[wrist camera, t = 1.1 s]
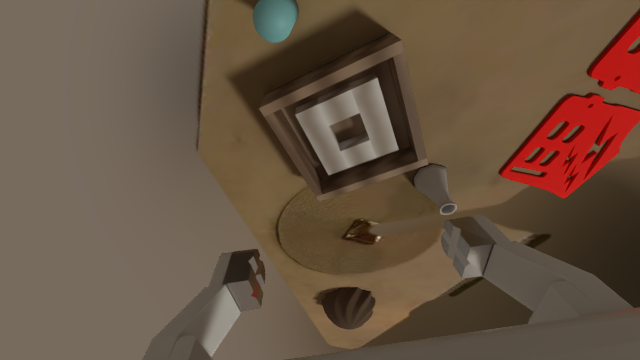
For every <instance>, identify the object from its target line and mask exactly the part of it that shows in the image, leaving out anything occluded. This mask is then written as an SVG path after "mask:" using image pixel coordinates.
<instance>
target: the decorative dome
mask: <svg viewBox="0 0 640 360" xmlns="http://www.w3.org/2000/svg"><path fill="white" fill-rule="evenodd" d="M322 303H323V308H324V311H325V313H326V315H327V316H328V318H329V319H330V320H331V321H332V322H333V323H334V324H335V325H337V326H338V327H340V328H344V329H355V328H358V327H361V326H362V325H363V324H364V323H365V322H366V321H368V320H369V318H370V317H371V316H372V313H373V311H372V309H373V307H374V305H375V298H373V297H372V296H371V292H370V291H364V290H362V289H360V288H358V287H356V288H350V289H346V288H339V289H338V290H336V291H335V292H331V293H327V294H326V298H325V299H324V300H323V301H322Z"/></svg>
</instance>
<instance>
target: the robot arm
mask: <svg viewBox="0 0 640 360" xmlns="http://www.w3.org/2000/svg"><path fill="white" fill-rule="evenodd" d="M443 228H444V229H445V230H446V231H445V232H444V233H443V234H442V237H441V243H442V247H443V250H444V252H445V253H446V255H447V256H448V257H449V258H451V259H453V260H454V262H453V266H454V267H455V269H456V270H457V272H458V273H459V275H460V276H461V278H469V277H477V276H483V277H484V278H485V279H487V280H488V281H490V282H491V283H493V284H494V285H496V286H497V287H499V288H500V289H502V290H503V291H504V292H506V293H507V294H509V295H510V296H512V297H513V298H515V299H516V300H518V301H519V302H521V303H522V304H523V305H525V306H526V307H528V308H529V309H531V310H532V311H534V313H533V314H532V316H531V318H530V319H529V322H528V324H525V325H519V326H512V327H506V328H498V329H492V330H484V331H478V332H472V333H464V334H457V335H450V336H443V337H437V338H430V339H423V340H416V341H409V342H402V343H396V344H388V345H382V346H375V347H368V348H361V349H354V350H348V351H341V352H334V353H327V354H321V355H313V356H307V357H300V358H294V359H286V360H640V308H633V307H632V306H631V305H630V304H628V303H627V302H626V301H625V300H623V299H622V298H621V297H620V296H618V295H617V294H616V293H615V292H614V291H613V290H611V289H610V288H609V287H608V286H606V285H605V284H604V283H603V282H602V281H600V280H599V279H598V278H597V277H596V276H594V275H593V274H590V273H588V272H585V271H583V270H581V269H579V268H576V267H574V266H571V265H569V264H567V263H565V262H562V261H560V260H558V259H555V258H553V257H551V256H548V255H546V254H544V253H541V252H539V251H537V250H534V249H532V248H530V247H528V246H525V245H523V244H521V243H518V242H516V241H513V242H511V241H510V240H509V239H508V238H507V237H506V236H505V235H504V234H503V233H502V232H501V231H500V230H499V229H498V228H497V227H496V226H495V225H494V224H493V223H492V222H491V221H490V220H488V218H487V217H485V216H484V215H482V214H481V215H476V216H469V217H462V218H456V219H450V220H446V221H445V222H444V225H443ZM259 257H260V254H259V251H258V249H251V250H243V251H235V252H229V253H222V254H221V255H220V256H219V260H218V262H217V265H216V267H215V270H214V273H213V276H212V279H211V281H210V284H209V287H205V288H204V289H203V290H202V291H201V292H200V293H199V294H198V295H197V296H196V297H195V298H194V299H193V300H192V301H191V302H190V303H189V304H188V305H187V306H186V307H185V308H184V309H183V310H182V311H181V312H180V313H179V314H178V315H177V316H176V317H175V318H174V319H172V320H171V322H169V323H168V324H167V326H165V328H164V329H162V330H161V331H160V332H159V333H158V334H157V335H156V336H155V337H154V339H152V341H151V343H150V345H149V347H148V349H147V351H146V353H145V355H144V357H143V359H142V360H213V359H212V358H211V356H212V355H213V353H214V352H215V350H216V349H217V348H218V346H219V345H220V343H221V341H222V340H223V339H224V337H225V336H226V334H227V333H228V331H229V330H230V328H231V327H232V325H233V324H234V322H235V321H236V319H237V318H238V316H239V315H240V313H241V312H242V311H247V310H253V309H258V308H261V304H262V298H263V292H262V289H261V287H262V286H263V285H264V284H265V268H264V264H263V262H262V261H261V260H259Z"/></svg>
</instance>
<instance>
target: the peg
mask: <svg viewBox="0 0 640 360" xmlns="http://www.w3.org/2000/svg"><path fill="white" fill-rule="evenodd" d="M298 12H299V11H298V4H297V2H296V0H260V1H259V2H258V3H257V4H256V6H255V8H254V12H253V21H254V25H255V28H256V30H257V32H258V33H259V34H260V36H261V37H263V38H264V39H265V40H267V41H269V42H275V43H276V42H281V41H283V40H284V39H286V38H287V37H288V35H289V34H290V32H291V30H292V28H293V26H294V24H295V21H296V19H297V17H298Z"/></svg>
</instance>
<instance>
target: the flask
mask: <svg viewBox="0 0 640 360" xmlns="http://www.w3.org/2000/svg"><path fill="white" fill-rule="evenodd" d="M413 179H414V185H415V188H417V189H418V190H419V191H421V192H422V193H424V194H425V195H426V196H428V197H429V198H430V199H432V200H433V201H434V202H435V203H436V205H437V206H438V208H439V213H440V214H443V215H448V214H452V213H453V212H454V211H455V210H456V209H457V206H456V203H453V202H452V200H451V198H450V195H449V192H448V186H447V176H446V167H443V166H439V165H435V164H433V165H430V166H426V167H423V168H420V169H419V171H418V172H417V174H416V175H415V177H414V178H413Z"/></svg>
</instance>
